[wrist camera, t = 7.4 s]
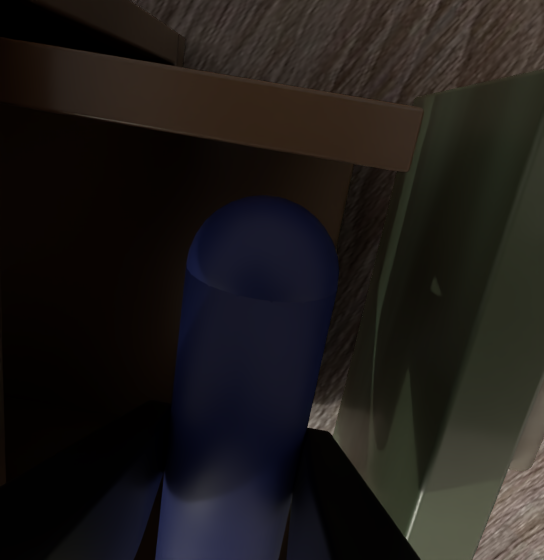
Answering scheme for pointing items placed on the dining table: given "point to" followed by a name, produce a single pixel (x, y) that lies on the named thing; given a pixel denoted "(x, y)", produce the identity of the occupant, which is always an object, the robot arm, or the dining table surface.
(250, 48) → the dining table surface
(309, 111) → the drawer
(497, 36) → the dining table surface
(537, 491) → the dining table surface
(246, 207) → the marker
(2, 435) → the cabinet
